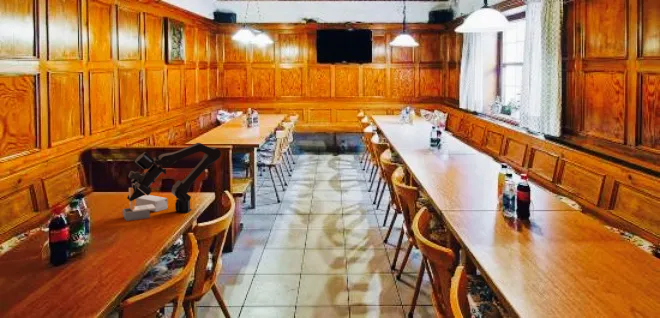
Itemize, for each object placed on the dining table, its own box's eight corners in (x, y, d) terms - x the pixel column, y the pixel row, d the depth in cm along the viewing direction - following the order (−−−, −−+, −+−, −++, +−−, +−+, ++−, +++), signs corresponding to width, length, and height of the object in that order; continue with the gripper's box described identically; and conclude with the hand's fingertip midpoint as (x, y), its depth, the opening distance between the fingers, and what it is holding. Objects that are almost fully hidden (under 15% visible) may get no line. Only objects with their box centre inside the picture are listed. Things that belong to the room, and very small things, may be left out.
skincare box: (135, 207, 261) (155, 212, 254) (135, 196, 260) (154, 201, 252) (149, 204, 268) (168, 209, 261) (148, 193, 267) (167, 198, 260)
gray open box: (146, 213, 250) (146, 206, 250) (149, 217, 244) (149, 209, 243) (123, 216, 244) (122, 209, 244) (126, 220, 238) (125, 212, 237)
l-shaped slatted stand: (152, 205, 251) (151, 184, 249) (156, 208, 244) (155, 187, 243) (129, 208, 245) (127, 187, 244) (132, 211, 239) (131, 190, 237)
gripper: (134, 161, 249) (112, 185, 245) (142, 168, 233) (118, 193, 229) (151, 175, 254) (129, 199, 250) (160, 182, 238) (137, 208, 234)
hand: (128, 199), depth 241 cm, fingers closed on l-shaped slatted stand, 4 cm apart
